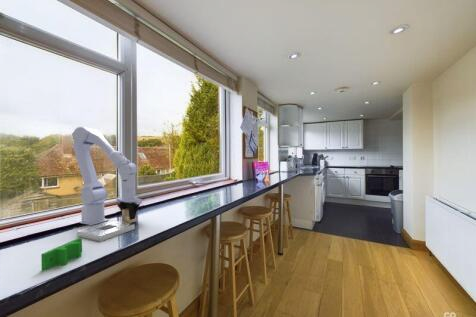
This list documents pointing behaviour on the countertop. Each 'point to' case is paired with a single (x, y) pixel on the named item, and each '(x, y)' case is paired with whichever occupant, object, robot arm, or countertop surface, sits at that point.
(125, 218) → the maple wedge
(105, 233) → the grey square plate
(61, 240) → the countertop surface
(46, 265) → the green boxy piece
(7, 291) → the countertop surface
